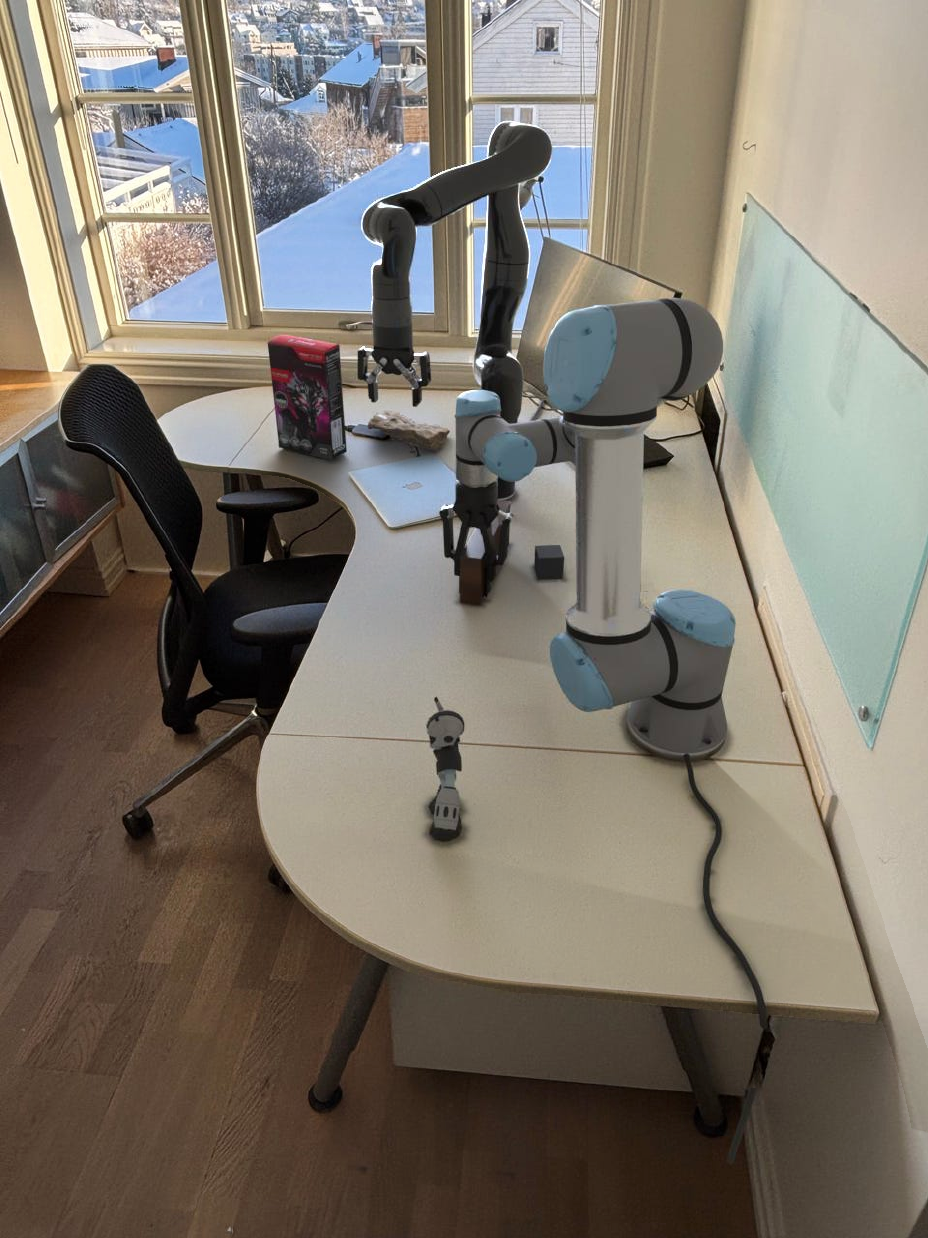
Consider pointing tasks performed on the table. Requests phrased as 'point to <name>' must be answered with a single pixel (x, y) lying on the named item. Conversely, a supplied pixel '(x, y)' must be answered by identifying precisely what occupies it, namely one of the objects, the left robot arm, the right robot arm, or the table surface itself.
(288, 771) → the table surface
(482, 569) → the beam
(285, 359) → the graphics card box
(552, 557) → the grey block
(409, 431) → the stone
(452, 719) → the robot
